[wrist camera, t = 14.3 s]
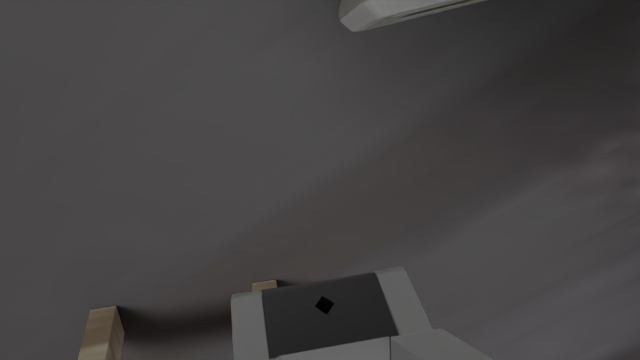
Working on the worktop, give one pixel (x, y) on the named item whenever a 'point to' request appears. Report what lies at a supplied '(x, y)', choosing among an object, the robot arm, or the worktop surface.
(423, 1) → the digital clock
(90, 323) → the bridge
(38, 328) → the worktop surface
